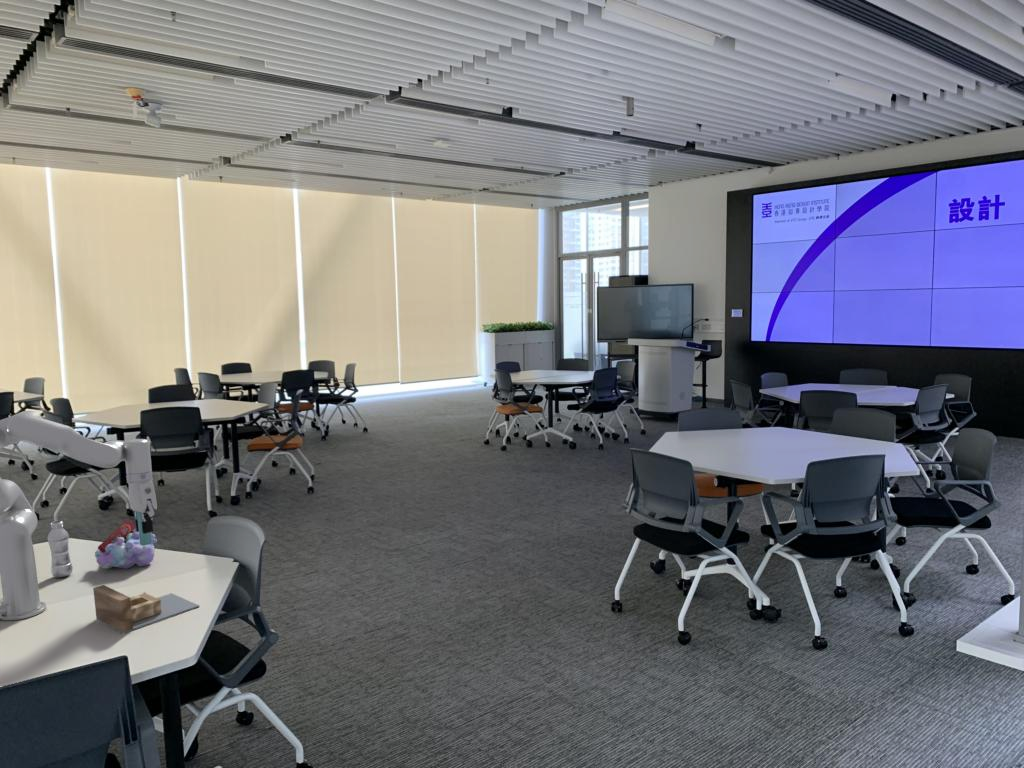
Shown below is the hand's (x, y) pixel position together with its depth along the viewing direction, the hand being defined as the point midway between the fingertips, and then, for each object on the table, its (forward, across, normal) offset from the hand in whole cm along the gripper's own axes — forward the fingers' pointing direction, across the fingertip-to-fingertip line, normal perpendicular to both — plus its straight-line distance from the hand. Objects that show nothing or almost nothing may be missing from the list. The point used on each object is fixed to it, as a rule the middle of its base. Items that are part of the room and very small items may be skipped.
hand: (144, 531), depth 251 cm
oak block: (+21, -17, +12) cm, 30 cm away
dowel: (+4, 0, 0) cm, 4 cm away
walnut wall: (+21, -17, +19) cm, 33 cm away
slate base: (+21, -17, +9) cm, 28 cm away
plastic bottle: (+21, +44, +11) cm, 50 cm away
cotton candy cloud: (+21, +36, -8) cm, 43 cm away
